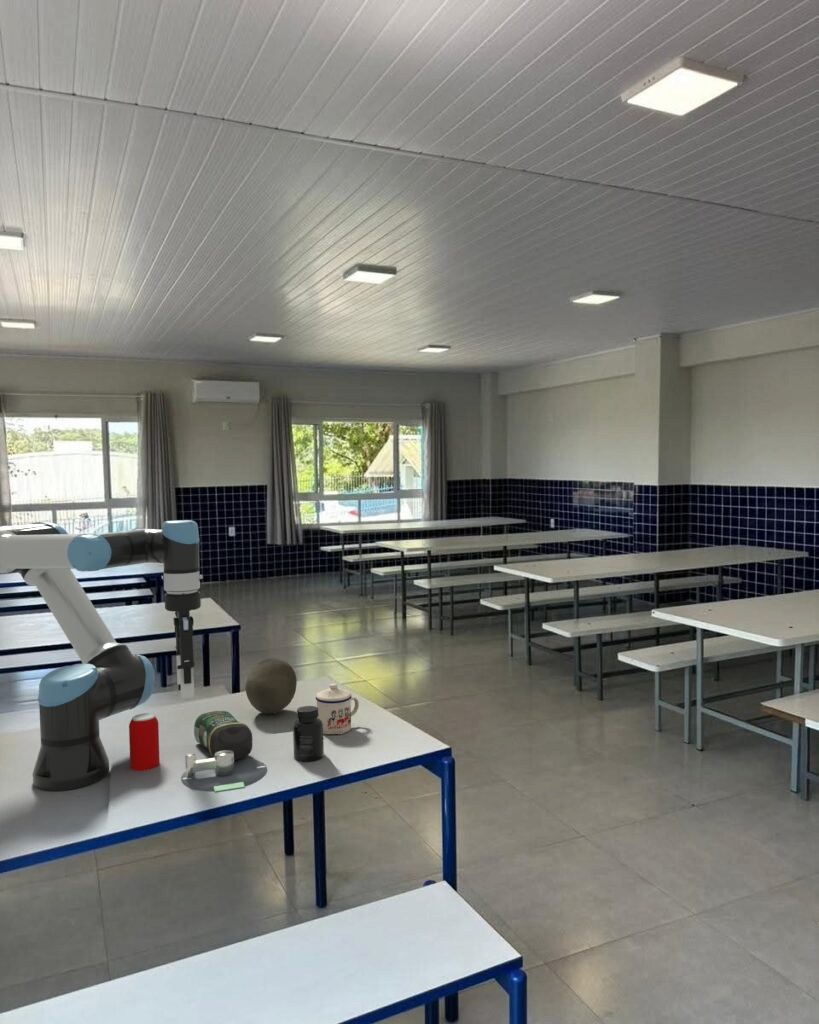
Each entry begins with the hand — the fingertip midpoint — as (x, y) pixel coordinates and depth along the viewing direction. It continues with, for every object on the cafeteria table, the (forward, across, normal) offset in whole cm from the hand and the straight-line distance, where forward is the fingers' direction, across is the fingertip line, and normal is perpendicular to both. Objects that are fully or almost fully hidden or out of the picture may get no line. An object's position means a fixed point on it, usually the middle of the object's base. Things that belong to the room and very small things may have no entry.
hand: (185, 690), depth 162 cm
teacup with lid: (+18, +13, -38) cm, 44 cm away
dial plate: (+18, -7, -7) cm, 21 cm away
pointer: (+17, -7, -4) cm, 19 cm away
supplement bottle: (+18, -5, -26) cm, 32 cm away
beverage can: (+18, +4, +9) cm, 21 cm away
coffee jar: (+14, +16, -7) cm, 22 cm away
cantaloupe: (+18, +31, -24) cm, 44 cm away
